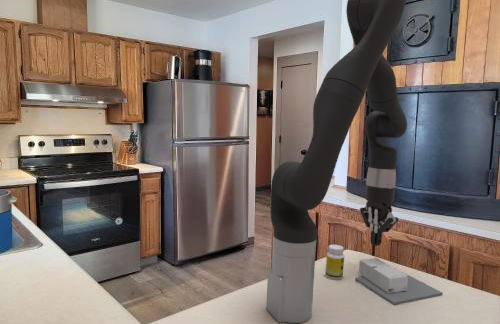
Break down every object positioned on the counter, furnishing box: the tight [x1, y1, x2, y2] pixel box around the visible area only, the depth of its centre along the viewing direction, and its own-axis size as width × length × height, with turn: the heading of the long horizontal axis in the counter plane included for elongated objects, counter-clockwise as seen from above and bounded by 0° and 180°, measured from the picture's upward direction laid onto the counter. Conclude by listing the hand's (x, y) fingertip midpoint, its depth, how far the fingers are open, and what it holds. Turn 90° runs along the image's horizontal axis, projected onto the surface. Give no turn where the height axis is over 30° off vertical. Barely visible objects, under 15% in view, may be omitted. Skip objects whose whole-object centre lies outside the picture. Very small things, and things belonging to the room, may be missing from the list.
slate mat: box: [354, 271, 443, 306], centre depth 94 cm, size 16×14×1 cm
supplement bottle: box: [325, 244, 345, 280], centre depth 99 cm, size 5×5×8 cm
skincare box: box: [358, 257, 409, 293], centre depth 96 cm, size 6×4×12 cm
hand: (375, 244), depth 102 cm, fingers closed
